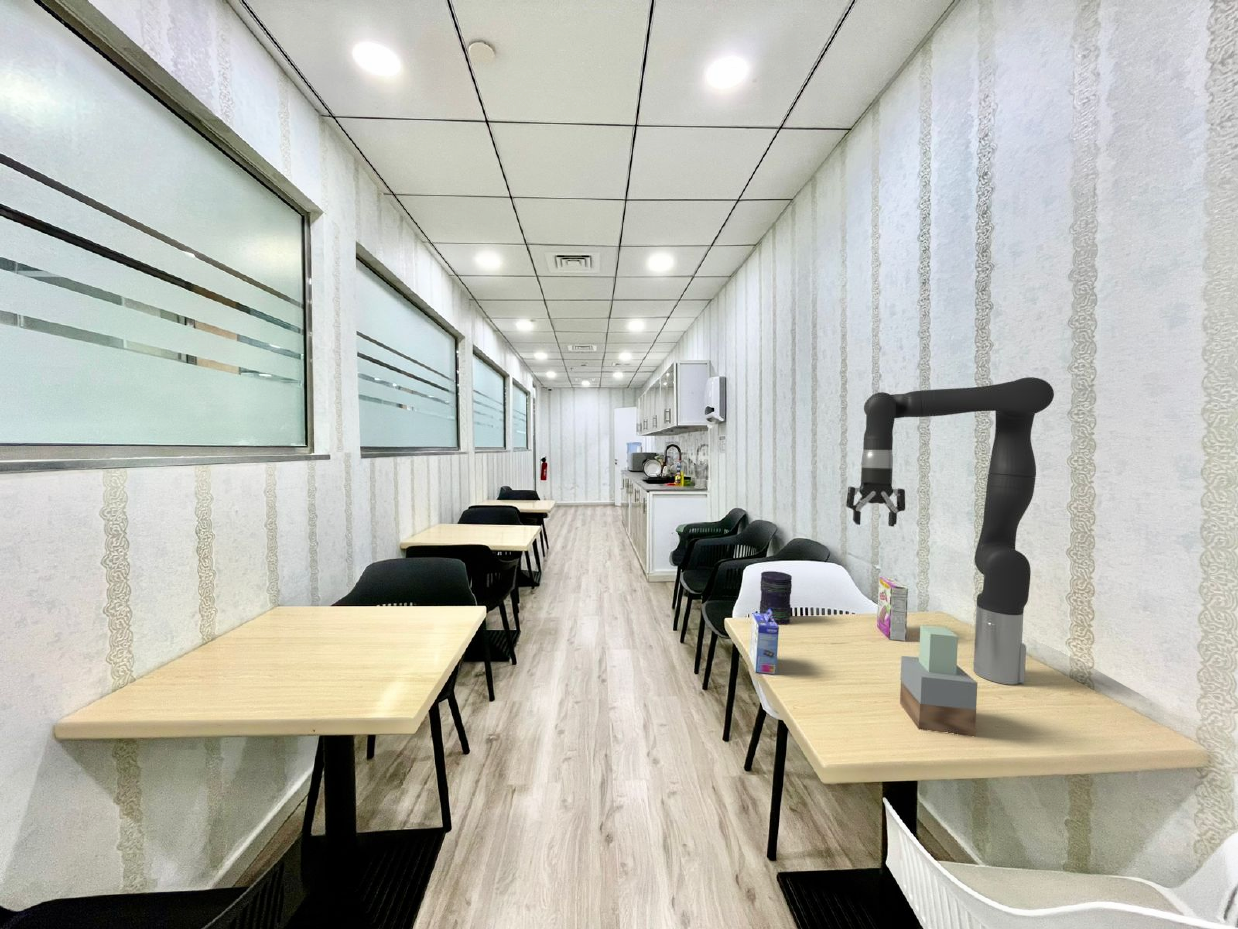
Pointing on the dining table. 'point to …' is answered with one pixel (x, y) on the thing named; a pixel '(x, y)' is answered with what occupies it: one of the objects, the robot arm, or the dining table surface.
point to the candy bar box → (892, 608)
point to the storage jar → (776, 595)
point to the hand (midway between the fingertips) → (874, 525)
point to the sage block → (938, 649)
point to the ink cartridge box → (764, 643)
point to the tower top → (938, 685)
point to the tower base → (938, 715)
